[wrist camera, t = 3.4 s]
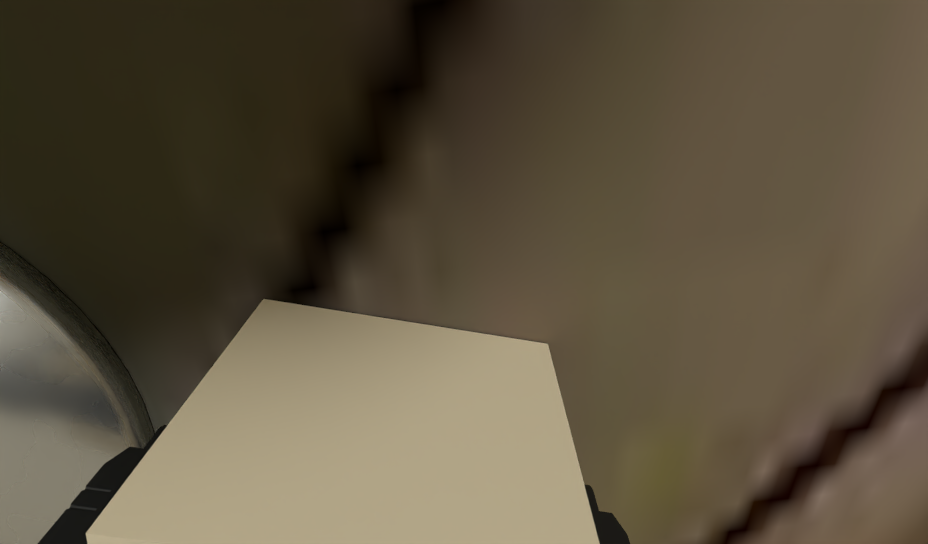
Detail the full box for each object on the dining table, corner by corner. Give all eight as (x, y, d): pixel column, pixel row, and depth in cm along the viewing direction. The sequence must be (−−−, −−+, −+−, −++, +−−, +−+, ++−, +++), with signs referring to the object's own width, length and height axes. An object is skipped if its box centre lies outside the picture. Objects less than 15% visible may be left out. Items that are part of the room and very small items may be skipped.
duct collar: (547, 343, 12) (613, 598, 7) (491, 534, 15) (505, 824, 9) (263, 298, 12) (86, 532, 6) (259, 504, 14) (133, 791, 9)
